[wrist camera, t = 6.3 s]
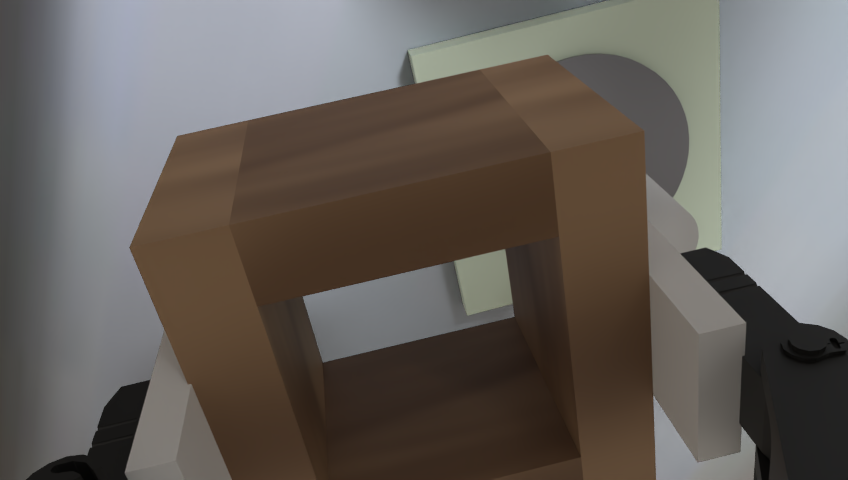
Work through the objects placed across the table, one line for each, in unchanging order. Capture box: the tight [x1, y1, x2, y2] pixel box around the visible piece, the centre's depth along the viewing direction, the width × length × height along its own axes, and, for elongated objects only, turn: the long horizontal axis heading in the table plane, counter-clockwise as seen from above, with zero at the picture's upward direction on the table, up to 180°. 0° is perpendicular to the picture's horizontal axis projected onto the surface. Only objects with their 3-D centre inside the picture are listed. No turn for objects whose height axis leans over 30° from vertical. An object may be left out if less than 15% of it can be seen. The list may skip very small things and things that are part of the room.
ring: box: [130, 55, 656, 480], centre depth 15 cm, size 8×8×5 cm
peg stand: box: [408, 0, 721, 316], centre depth 28 cm, size 12×12×8 cm
